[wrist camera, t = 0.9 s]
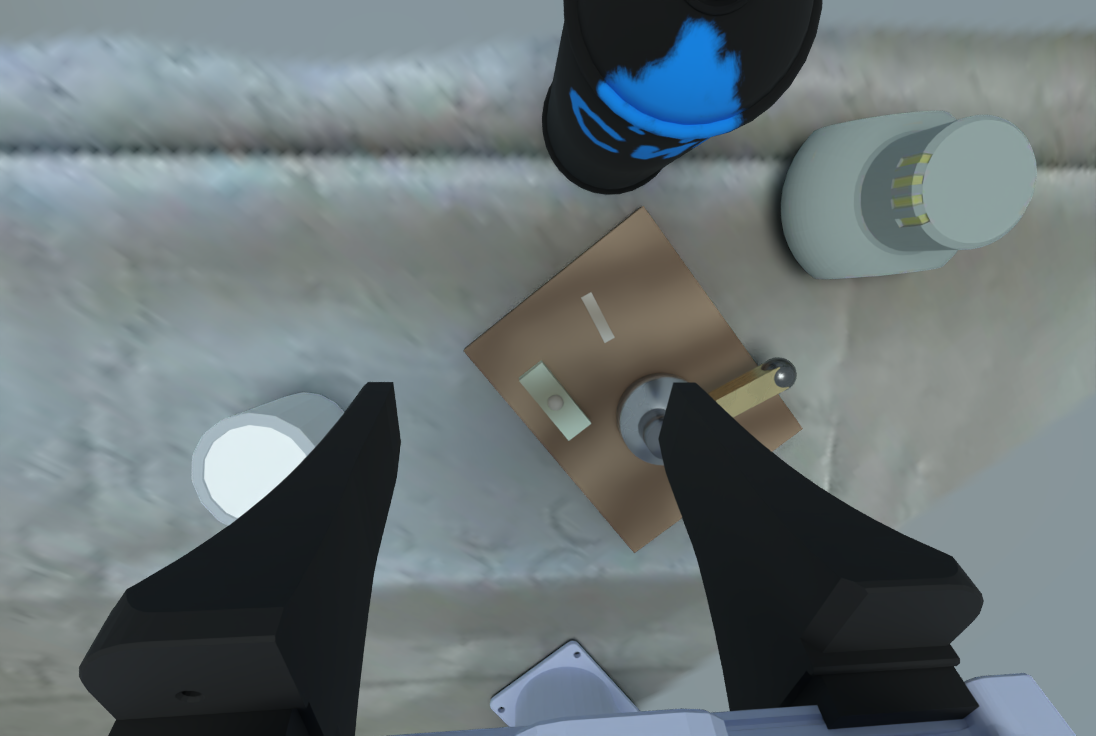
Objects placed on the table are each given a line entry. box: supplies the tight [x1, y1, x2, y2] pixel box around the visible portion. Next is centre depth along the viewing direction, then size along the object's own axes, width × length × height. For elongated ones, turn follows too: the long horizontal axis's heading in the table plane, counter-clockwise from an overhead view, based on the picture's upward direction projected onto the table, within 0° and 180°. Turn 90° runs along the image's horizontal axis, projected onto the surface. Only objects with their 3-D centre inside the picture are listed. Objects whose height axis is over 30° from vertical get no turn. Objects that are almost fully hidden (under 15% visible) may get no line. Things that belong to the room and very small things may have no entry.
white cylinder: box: [192, 392, 344, 526], centre depth 32 cm, size 7×7×7 cm
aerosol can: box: [542, 0, 822, 194], centre depth 22 cm, size 8×8×20 cm
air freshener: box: [781, 111, 1037, 279], centre depth 29 cm, size 11×8×10 cm
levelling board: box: [464, 206, 803, 553], centre depth 34 cm, size 18×14×2 cm
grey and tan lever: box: [616, 357, 797, 465], centre depth 33 cm, size 11×6×4 cm, turn 118°
